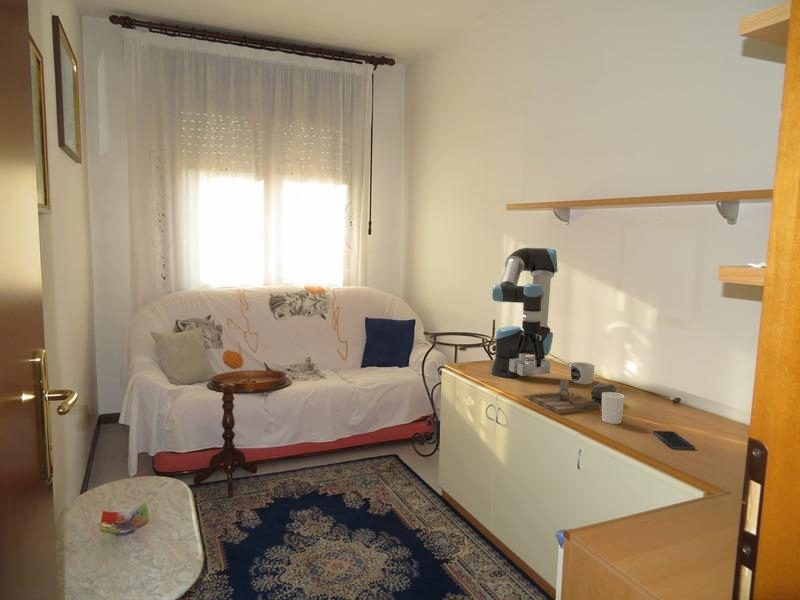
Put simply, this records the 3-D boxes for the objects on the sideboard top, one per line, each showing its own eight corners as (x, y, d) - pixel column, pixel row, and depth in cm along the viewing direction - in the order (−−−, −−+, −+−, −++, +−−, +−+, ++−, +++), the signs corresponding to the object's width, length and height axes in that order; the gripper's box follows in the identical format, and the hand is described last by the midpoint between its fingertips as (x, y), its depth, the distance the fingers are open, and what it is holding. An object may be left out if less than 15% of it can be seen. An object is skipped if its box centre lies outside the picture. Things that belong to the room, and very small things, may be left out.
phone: (671, 447, 179) (651, 430, 194) (671, 450, 179) (651, 433, 194) (696, 447, 179) (674, 431, 194) (696, 451, 179) (674, 434, 194)
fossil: (588, 402, 226) (590, 378, 230) (591, 407, 234) (593, 384, 237) (616, 405, 221) (618, 381, 225) (618, 411, 229) (620, 387, 232)
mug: (597, 382, 261) (599, 365, 260) (585, 385, 254) (586, 368, 253) (573, 376, 271) (574, 360, 270) (560, 379, 265) (561, 362, 264)
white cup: (596, 420, 206) (597, 394, 205) (607, 416, 211) (608, 390, 210) (615, 426, 200) (617, 399, 199) (626, 421, 205) (628, 395, 204)
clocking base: (528, 400, 230) (529, 376, 228) (567, 395, 237) (569, 373, 236) (558, 414, 212) (559, 388, 211) (599, 409, 220) (600, 384, 219)
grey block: (535, 367, 247) (536, 356, 246) (549, 373, 237) (550, 361, 237) (508, 370, 241) (509, 359, 241) (522, 376, 232) (522, 364, 232)
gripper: (509, 316, 245) (507, 365, 248) (540, 325, 225) (537, 378, 228) (523, 315, 248) (521, 364, 251) (555, 324, 227) (552, 377, 230)
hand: (529, 371), depth 239 cm, fingers closed on grey block, 10 cm apart
